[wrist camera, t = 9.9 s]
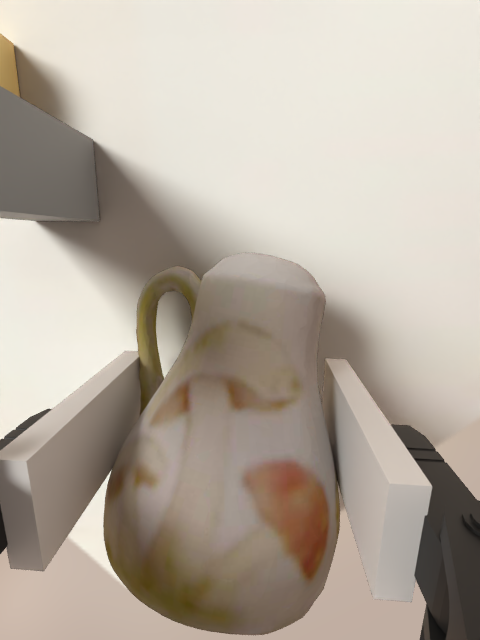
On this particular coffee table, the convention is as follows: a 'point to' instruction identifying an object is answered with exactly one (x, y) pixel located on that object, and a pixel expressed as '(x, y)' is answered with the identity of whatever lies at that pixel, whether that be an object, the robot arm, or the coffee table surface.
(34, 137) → the post
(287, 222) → the coffee table surface
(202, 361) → the white floral pitcher
